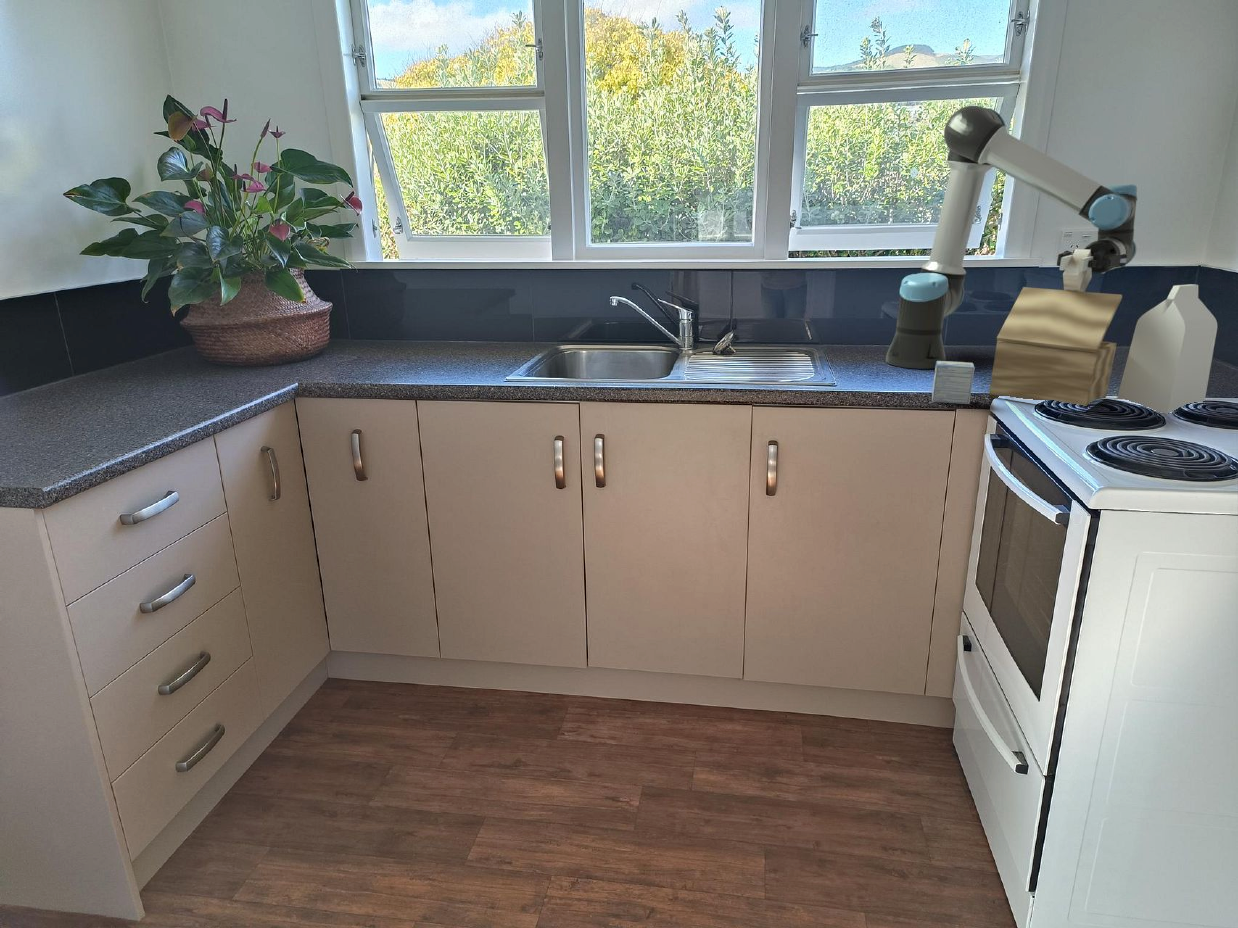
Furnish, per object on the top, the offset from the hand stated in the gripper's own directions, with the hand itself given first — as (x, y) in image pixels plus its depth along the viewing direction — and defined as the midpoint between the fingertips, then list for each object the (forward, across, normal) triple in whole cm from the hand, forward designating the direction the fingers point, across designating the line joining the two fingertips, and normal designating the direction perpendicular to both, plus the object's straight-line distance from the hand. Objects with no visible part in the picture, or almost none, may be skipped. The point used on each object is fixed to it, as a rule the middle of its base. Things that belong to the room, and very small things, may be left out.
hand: (1071, 264), depth 175 cm
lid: (-2, 0, -11) cm, 11 cm away
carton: (+1, 0, -30) cm, 30 cm away
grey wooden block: (+19, +15, -30) cm, 38 cm away
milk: (-9, -20, -30) cm, 37 cm away
